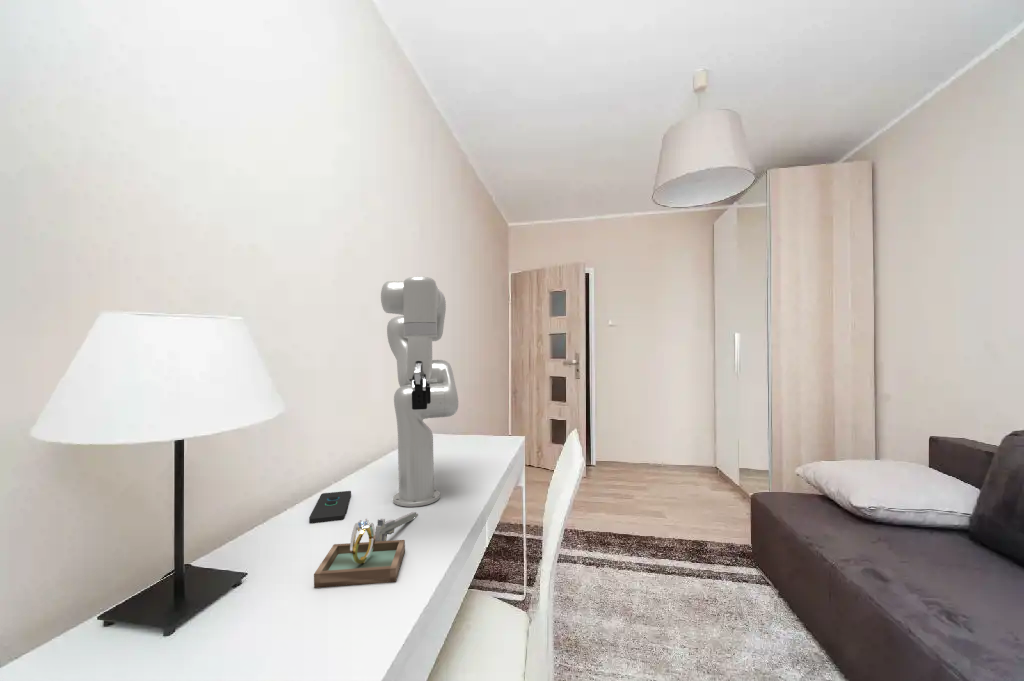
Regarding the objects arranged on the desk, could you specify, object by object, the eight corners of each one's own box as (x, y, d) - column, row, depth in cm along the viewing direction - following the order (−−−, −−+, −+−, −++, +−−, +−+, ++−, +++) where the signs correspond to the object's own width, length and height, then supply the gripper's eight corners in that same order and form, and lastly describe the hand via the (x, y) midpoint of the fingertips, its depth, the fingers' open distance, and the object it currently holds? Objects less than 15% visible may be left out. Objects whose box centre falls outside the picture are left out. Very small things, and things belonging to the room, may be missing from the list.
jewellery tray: (334, 556, 90) (333, 544, 90) (405, 551, 91) (404, 539, 91) (314, 588, 78) (313, 574, 78) (396, 581, 79) (395, 568, 79)
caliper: (379, 554, 91) (379, 522, 91) (374, 553, 91) (374, 522, 91) (418, 515, 111) (417, 490, 112) (414, 515, 112) (413, 490, 112)
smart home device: (352, 490, 129) (344, 514, 109) (352, 496, 128) (344, 521, 109) (321, 492, 126) (307, 518, 107) (321, 498, 126) (307, 525, 107)
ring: (359, 572, 81) (358, 528, 81) (344, 570, 82) (343, 526, 82) (381, 555, 88) (380, 514, 88) (367, 553, 89) (366, 513, 89)
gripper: (408, 333, 110) (409, 402, 110) (398, 330, 93) (399, 412, 93) (439, 332, 111) (440, 401, 111) (434, 329, 94) (436, 411, 94)
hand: (421, 406), depth 102 cm, fingers open, 9 cm apart
